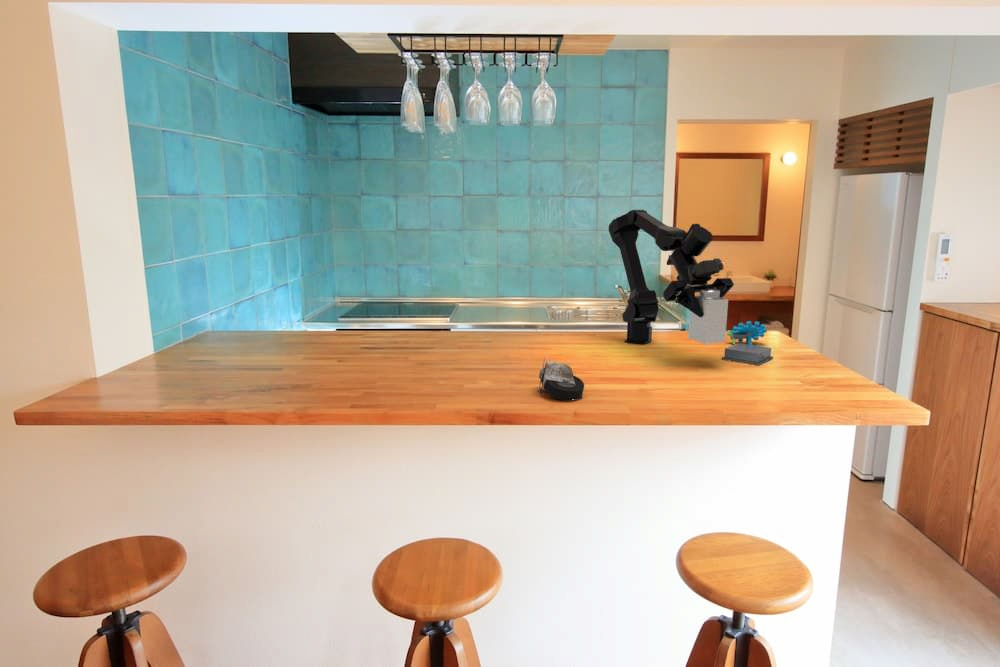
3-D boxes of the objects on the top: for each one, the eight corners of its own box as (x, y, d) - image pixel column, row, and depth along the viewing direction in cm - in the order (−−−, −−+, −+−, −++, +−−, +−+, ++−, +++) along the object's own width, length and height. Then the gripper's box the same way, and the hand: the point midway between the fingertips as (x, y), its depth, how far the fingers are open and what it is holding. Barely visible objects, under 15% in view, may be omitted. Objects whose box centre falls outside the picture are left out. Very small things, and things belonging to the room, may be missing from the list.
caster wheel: (580, 412, 138) (534, 404, 138) (580, 387, 148) (537, 380, 149) (586, 385, 135) (539, 377, 136) (586, 361, 145) (542, 354, 146)
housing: (688, 338, 168) (691, 288, 165) (707, 336, 170) (710, 287, 168) (705, 343, 162) (709, 292, 159) (725, 341, 164) (728, 291, 161)
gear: (765, 336, 194) (766, 317, 186) (768, 353, 191) (769, 334, 183) (726, 339, 197) (726, 321, 190) (728, 355, 194) (728, 337, 186)
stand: (721, 359, 173) (722, 348, 172) (736, 353, 180) (737, 342, 180) (758, 365, 166) (759, 354, 166) (773, 358, 174) (773, 347, 173)
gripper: (672, 248, 161) (697, 298, 154) (731, 247, 168) (759, 294, 160) (652, 276, 170) (675, 324, 162) (709, 273, 177) (734, 320, 169)
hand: (711, 315), depth 163 cm, fingers closed on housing, 6 cm apart
